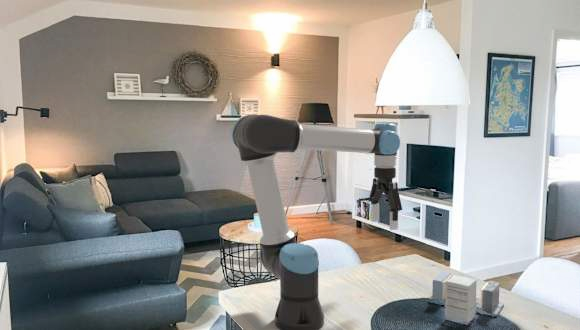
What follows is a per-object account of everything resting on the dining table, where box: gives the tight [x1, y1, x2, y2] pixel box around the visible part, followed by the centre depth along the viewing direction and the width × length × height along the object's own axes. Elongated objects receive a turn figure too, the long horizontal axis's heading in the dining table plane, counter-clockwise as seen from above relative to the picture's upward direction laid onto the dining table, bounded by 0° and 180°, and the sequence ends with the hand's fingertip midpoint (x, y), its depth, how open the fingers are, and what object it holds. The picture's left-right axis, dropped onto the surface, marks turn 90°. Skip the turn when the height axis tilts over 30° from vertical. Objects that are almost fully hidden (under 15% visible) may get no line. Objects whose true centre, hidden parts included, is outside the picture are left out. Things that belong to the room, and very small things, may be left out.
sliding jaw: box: [431, 271, 453, 300], centre depth 165 cm, size 10×4×7 cm, turn 145°
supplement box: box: [444, 274, 477, 322], centre depth 149 cm, size 7×7×13 cm
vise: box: [428, 280, 505, 316], centre depth 161 cm, size 11×22×8 cm, turn 55°
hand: (384, 225), depth 174 cm, fingers open, 13 cm apart
